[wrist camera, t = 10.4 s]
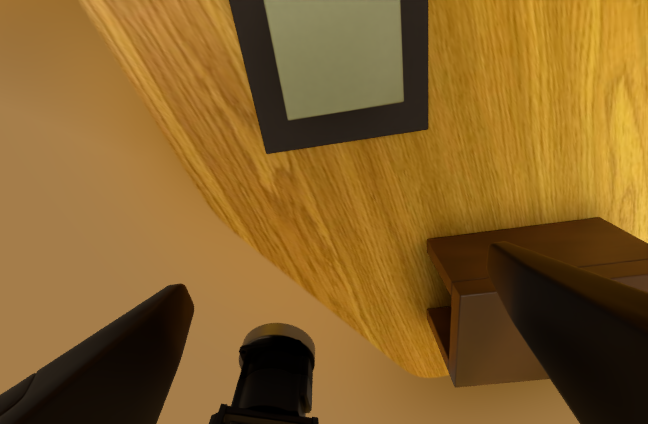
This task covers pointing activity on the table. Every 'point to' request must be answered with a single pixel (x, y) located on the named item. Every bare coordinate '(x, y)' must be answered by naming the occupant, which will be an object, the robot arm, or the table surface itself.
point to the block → (336, 54)
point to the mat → (339, 125)
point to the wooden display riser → (487, 308)
